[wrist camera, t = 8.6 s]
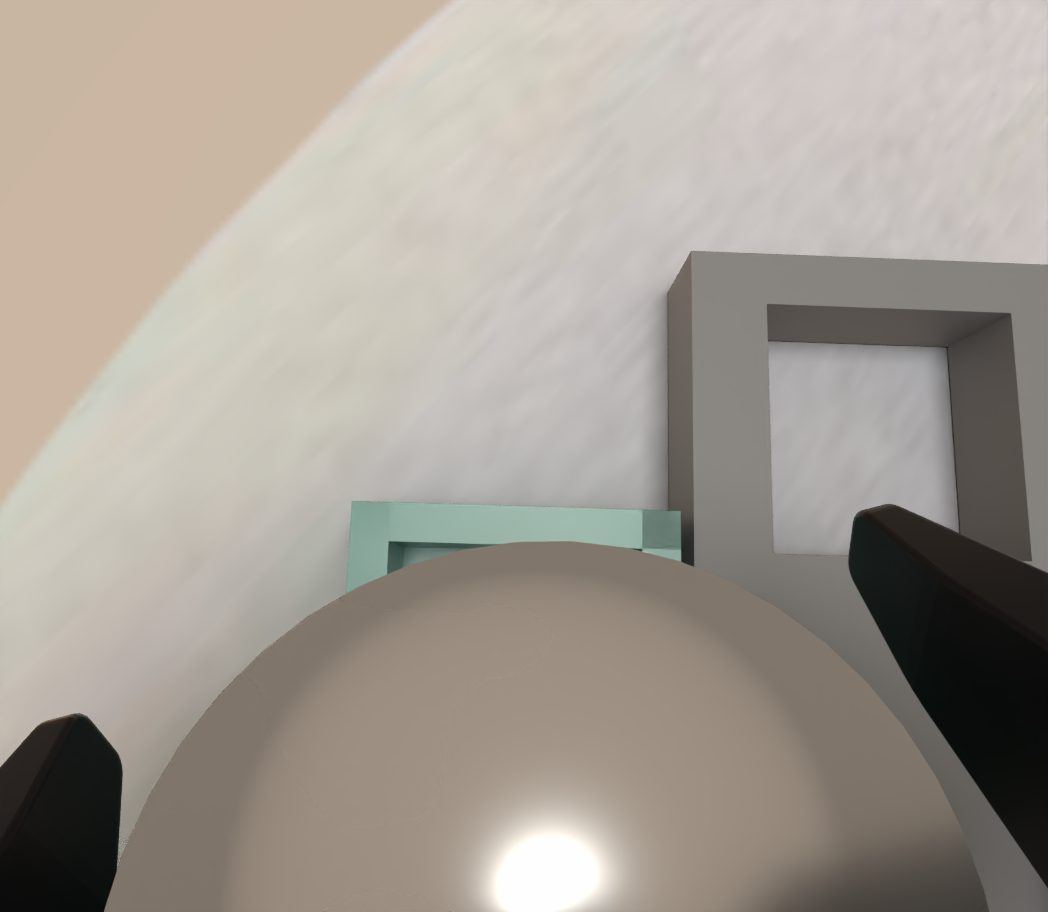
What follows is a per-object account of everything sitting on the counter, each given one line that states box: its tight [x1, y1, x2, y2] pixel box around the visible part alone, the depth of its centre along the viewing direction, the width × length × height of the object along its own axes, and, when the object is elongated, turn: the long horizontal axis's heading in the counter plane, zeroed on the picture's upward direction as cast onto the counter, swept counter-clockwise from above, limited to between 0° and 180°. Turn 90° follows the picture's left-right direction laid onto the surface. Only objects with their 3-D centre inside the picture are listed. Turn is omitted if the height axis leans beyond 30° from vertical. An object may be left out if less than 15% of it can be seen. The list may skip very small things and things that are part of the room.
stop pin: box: [104, 541, 989, 912], centre depth 11 cm, size 4×4×14 cm
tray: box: [346, 501, 681, 594], centre depth 16 cm, size 10×7×3 cm
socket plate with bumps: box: [668, 251, 1048, 912], centre depth 16 cm, size 16×9×6 cm, turn 178°
